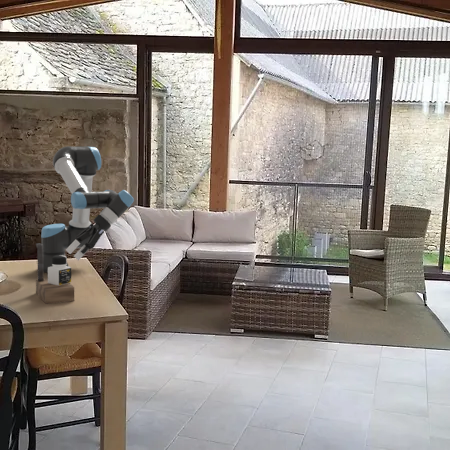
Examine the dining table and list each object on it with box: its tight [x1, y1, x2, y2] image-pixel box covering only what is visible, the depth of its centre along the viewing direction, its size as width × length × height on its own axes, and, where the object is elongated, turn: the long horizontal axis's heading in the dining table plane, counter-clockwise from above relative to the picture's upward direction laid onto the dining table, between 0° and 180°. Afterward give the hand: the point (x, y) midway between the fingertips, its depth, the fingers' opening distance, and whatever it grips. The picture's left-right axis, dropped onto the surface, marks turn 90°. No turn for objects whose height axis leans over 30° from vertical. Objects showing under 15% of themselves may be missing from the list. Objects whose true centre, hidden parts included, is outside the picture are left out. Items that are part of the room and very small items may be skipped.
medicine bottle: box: [47, 255, 72, 286], centre depth 266 cm, size 7×7×12 cm
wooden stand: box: [35, 243, 75, 305], centre depth 266 cm, size 20×12×22 cm, turn 29°
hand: (71, 255), depth 267 cm, fingers open, 13 cm apart
